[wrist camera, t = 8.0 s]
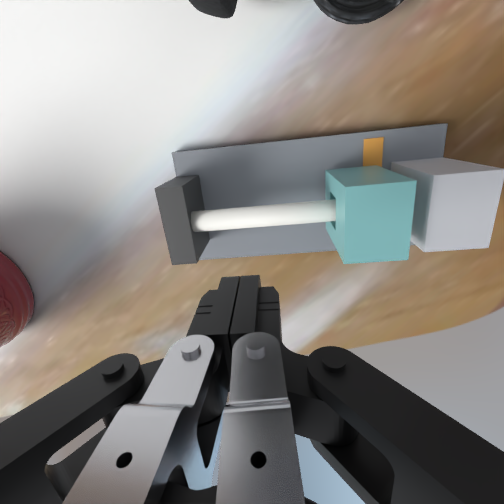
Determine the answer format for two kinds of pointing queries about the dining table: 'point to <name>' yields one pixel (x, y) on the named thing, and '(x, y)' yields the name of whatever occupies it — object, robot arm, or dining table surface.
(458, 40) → the dining table surface
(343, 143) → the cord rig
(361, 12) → the milk frother
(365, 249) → the sleeve
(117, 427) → the robot arm
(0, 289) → the canister
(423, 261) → the dining table surface
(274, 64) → the dining table surface
